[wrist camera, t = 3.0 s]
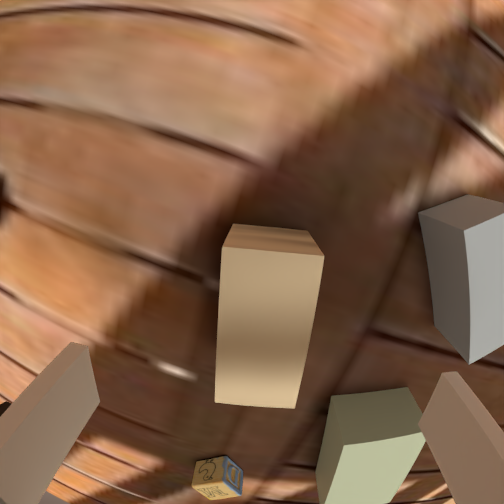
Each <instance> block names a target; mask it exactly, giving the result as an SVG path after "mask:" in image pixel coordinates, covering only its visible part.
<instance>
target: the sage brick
mask: <svg viewBox="0 0 504 504" xmlns="http://www.w3.org/2000/svg"><path fill="white" fill-rule="evenodd" d="M422 415H423V414H422V412H421V410H420V408H419V407H418V405H417V403H416V401H415V399H414V398H413V396H412V394H411V392H410V390H409V389H408V387H404V388H397V389H390V390H383V391H375V392H367V393H357V394H347V395H335V396H331V400H330V406H329V411H328V416H327V422H326V427H325V431H324V436H323V441H322V446H321V450H320V455H319V459H318V463H317V467H316V472H315V473H316V480H317V488H318V495H319V503H320V504H384V503H389V502H390V501H391V500H392V498H393V497H394V495H395V493H396V492H397V490H398V489H399V487H400V486H401V484H402V482H403V481H404V479H405V477H406V476H407V474H408V472H409V471H410V469H411V467H412V465H413V464H414V462H415V460H416V458H417V456H418V455H419V453H420V451H421V449H422V447H423V445H424V443H425V441H426V440H425V438H424V436H423V434H422V432H421V430H420V428H419V426H418V423H419V421H420V419H421V417H422Z"/></svg>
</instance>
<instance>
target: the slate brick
mask: <svg viewBox="0 0 504 504" xmlns="http://www.w3.org/2000/svg"><path fill="white" fill-rule="evenodd" d="M418 215H419V220H420V225H421V230H422V235H423V241H424V246H425V252H426V258H427V265H428V272H429V279H430V286H431V295H432V304H433V315H434V326H435V327H436V328H437V329H438V330H439V331H440V332H441V333H442V335H443V336H444V337H445V338H446V339H447V340H448V341H449V342H450V343H451V345H452V346H453V347H454V348H455V349H456V350H457V351H458V352H459V354H460V355H461V356H462V357H463V358H464V359H465V360H466V362H467V363H468V364H471V363H473V362H475V361H476V360H478V359H480V358H482V357H484V356H485V355H487V354H489V353H490V352H492V351H494V350H495V349H497V348H499V347H500V346H502V345H504V203H501V202H497V201H493V200H489V199H485V198H481V197H477V196H472V195H468V194H467V195H465V196H462V197H459V198H457V199H454V200H451V201H448V202H446V203H443V204H440V205H438V206H435V207H432V208H429V209H427V210H424V211H421V212H418Z"/></svg>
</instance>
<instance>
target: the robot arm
mask: <svg viewBox="0 0 504 504" xmlns="http://www.w3.org/2000/svg"><path fill="white" fill-rule="evenodd" d="M99 403H100V400H99V396H98V392H97V387H96V383H95V379H94V374H93V370H92V365H91V360H90V355H89V349H88V346H86V345H81V344H77V343H74V342H71V343H70V344H69V345H68V346H67V347H66V348H65V349H64V350H63V351H62V352H61V353H60V354H59V355H58V356H57V357H56V358H55V359H54V360H53V361H52V362H51V363H50V364H49V365H48V366H47V367H46V368H45V369H44V370H43V371H42V372H41V373H40V374H39V375H38V376H37V377H36V378H35V379H34V380H33V382H32V383H31V384H30V385H29V386H28V387H27V388H26V389H25V390H24V391H23V392H22V393H21V394H20V395H19V397H18V398H17V399H16V400H15V401H14V402H13V403H12V404H11V403H9V402H7V401H6V402H4V403H2V404H0V504H38V503H39V501H40V500H41V498H42V496H43V494H44V493H45V491H46V489H47V487H48V486H49V484H50V482H51V481H52V479H53V477H54V476H55V474H56V472H57V470H58V469H59V467H60V465H61V464H62V462H63V460H64V459H65V457H66V455H67V454H68V452H69V451H70V449H71V447H72V446H73V444H74V442H75V441H76V439H77V437H78V436H79V434H80V433H81V431H82V429H83V428H84V426H85V425H86V423H87V421H88V420H89V418H90V417H91V415H92V414H93V412H94V410H95V409H96V407H97V406H98V404H99ZM418 426H419V428H420V430H421V432H422V434H423V436H424V438H425V440H426V442H427V444H428V446H429V448H430V450H431V452H432V454H433V456H434V458H435V460H436V462H437V464H438V466H439V468H440V470H441V473H442V475H443V477H444V479H445V481H446V483H447V485H448V488H449V490H450V492H451V494H452V496H453V499H454V501H455V503H456V504H504V432H503V431H502V430H501V428H500V427H499V426H498V424H497V423H496V421H495V420H494V419H493V417H492V416H491V415H490V413H489V412H488V411H487V409H486V408H485V407H484V405H483V404H482V403H481V402H480V400H479V399H478V398H477V396H476V395H475V394H474V393H473V391H472V390H471V389H470V387H469V386H468V385H467V384H466V382H465V381H464V380H463V379H462V377H461V376H460V375H459V374H458V373H457V371H456V372H446V373H442V374H441V377H440V379H439V381H438V383H437V386H436V388H435V390H434V392H433V394H432V397H431V399H430V401H429V403H428V405H427V407H426V409H425V411H424V413H423V415H422V417H421V419H420V421H419V423H418Z"/></svg>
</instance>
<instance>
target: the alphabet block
mask: <svg viewBox="0 0 504 504" xmlns="http://www.w3.org/2000/svg"><path fill="white" fill-rule="evenodd" d="M242 485H243V470H242V469H241V468H240V467H238V466H237V465H236V464H235V463H234V462H233V461H232V460H231V459H230V458H229V457H227V456H222V457H218V458H213V459H207V460H202V461H197V462H196V465H195V470H194V476H193V481H192V487H193V488H194V489H195V490H197V491H198V492H199V493H201V494H202V495H204V496H205V497H206V498H208V499H209V500H217V499H224V498H230V497H237V496H241V495H242Z"/></svg>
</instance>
